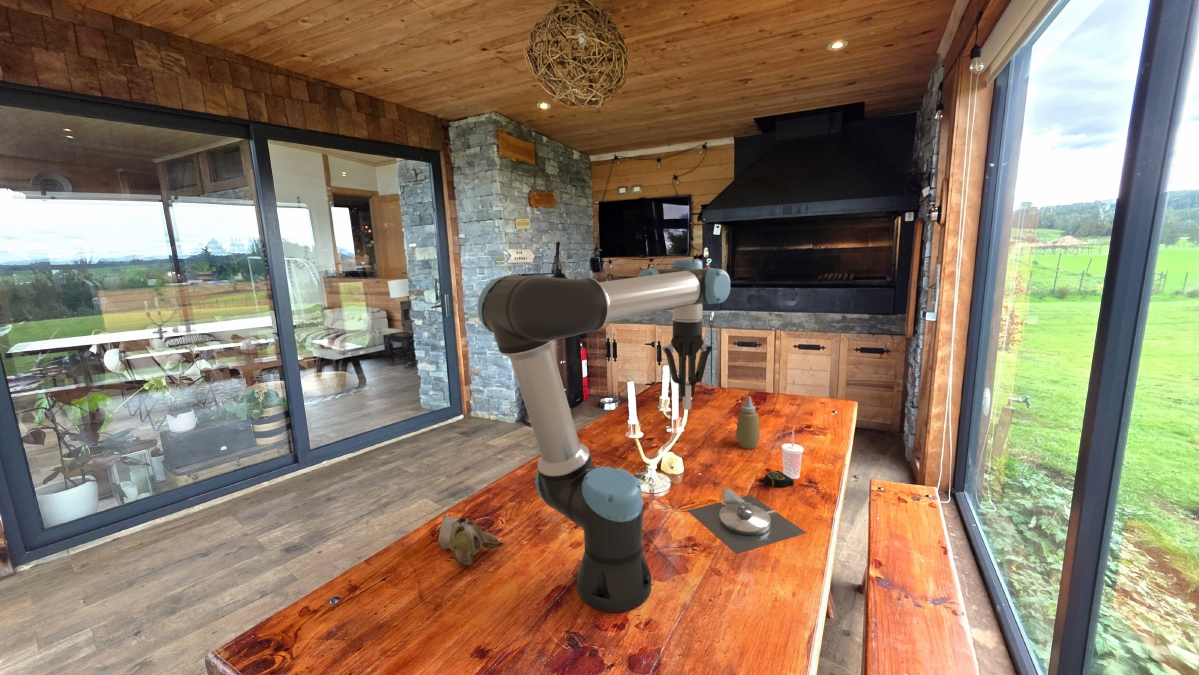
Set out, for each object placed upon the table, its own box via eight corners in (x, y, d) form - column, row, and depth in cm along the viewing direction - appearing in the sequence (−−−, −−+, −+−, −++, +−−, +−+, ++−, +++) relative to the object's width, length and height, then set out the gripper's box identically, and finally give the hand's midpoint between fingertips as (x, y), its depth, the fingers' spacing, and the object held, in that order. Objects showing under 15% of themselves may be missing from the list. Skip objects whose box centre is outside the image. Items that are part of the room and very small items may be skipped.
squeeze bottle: (762, 444, 168) (763, 395, 165) (756, 452, 161) (757, 401, 158) (739, 440, 172) (740, 392, 170) (732, 447, 166) (733, 397, 163)
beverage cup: (796, 481, 140) (798, 436, 137) (776, 475, 144) (778, 431, 142) (806, 475, 143) (808, 431, 141) (786, 469, 148) (788, 426, 146)
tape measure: (795, 490, 135) (795, 478, 134) (774, 494, 133) (775, 482, 132) (779, 480, 141) (779, 468, 141) (759, 484, 139) (760, 472, 138)
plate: (736, 560, 104) (736, 551, 104) (687, 515, 123) (687, 508, 122) (806, 538, 111) (807, 530, 111) (750, 499, 130) (750, 492, 129)
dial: (780, 529, 113) (781, 512, 112) (735, 538, 109) (736, 520, 109) (744, 499, 127) (744, 483, 127) (703, 506, 124) (704, 490, 123)
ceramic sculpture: (461, 499, 116) (505, 520, 108) (462, 530, 118) (505, 553, 110) (423, 519, 108) (468, 543, 99) (425, 553, 109) (469, 580, 101)
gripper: (706, 317, 127) (705, 402, 131) (659, 319, 125) (659, 405, 129) (716, 320, 119) (715, 410, 123) (666, 322, 118) (666, 413, 122)
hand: (686, 407), depth 126 cm, fingers closed
